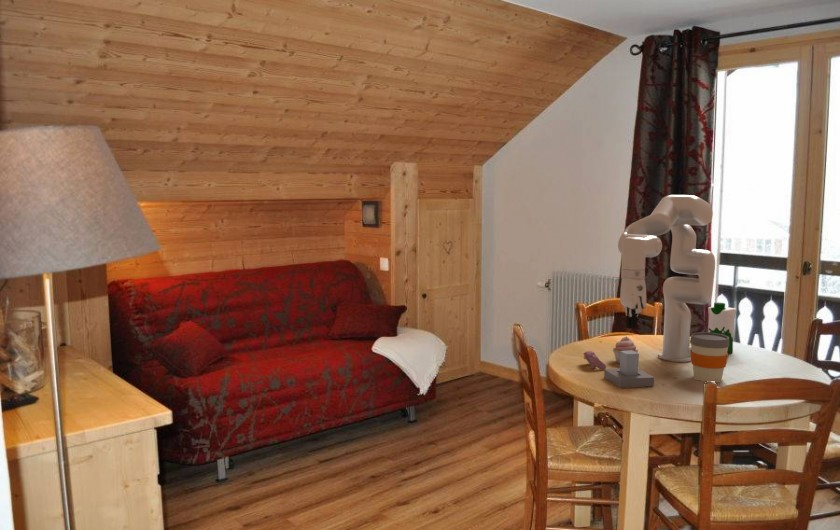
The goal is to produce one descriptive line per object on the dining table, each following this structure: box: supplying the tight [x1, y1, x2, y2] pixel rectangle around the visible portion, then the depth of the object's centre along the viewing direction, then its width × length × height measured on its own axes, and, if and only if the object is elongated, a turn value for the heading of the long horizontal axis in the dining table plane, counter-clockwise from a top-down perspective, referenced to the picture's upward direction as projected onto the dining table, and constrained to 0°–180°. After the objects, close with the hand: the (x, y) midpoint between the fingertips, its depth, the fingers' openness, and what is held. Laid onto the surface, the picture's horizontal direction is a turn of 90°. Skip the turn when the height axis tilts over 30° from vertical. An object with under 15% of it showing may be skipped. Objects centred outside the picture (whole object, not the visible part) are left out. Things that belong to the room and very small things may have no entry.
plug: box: [619, 350, 640, 376], centre depth 232 cm, size 4×4×10 cm
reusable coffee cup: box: [690, 331, 729, 383], centre depth 236 cm, size 13×13×15 cm
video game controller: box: [583, 350, 607, 370], centre depth 251 cm, size 10×5×7 cm, turn 6°
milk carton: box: [707, 302, 737, 354], centre depth 272 cm, size 9×9×20 cm
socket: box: [603, 368, 655, 389], centre depth 232 cm, size 12×12×3 cm
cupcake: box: [612, 336, 639, 364], centre depth 257 cm, size 9×9×10 cm
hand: (631, 327), depth 230 cm, fingers closed
